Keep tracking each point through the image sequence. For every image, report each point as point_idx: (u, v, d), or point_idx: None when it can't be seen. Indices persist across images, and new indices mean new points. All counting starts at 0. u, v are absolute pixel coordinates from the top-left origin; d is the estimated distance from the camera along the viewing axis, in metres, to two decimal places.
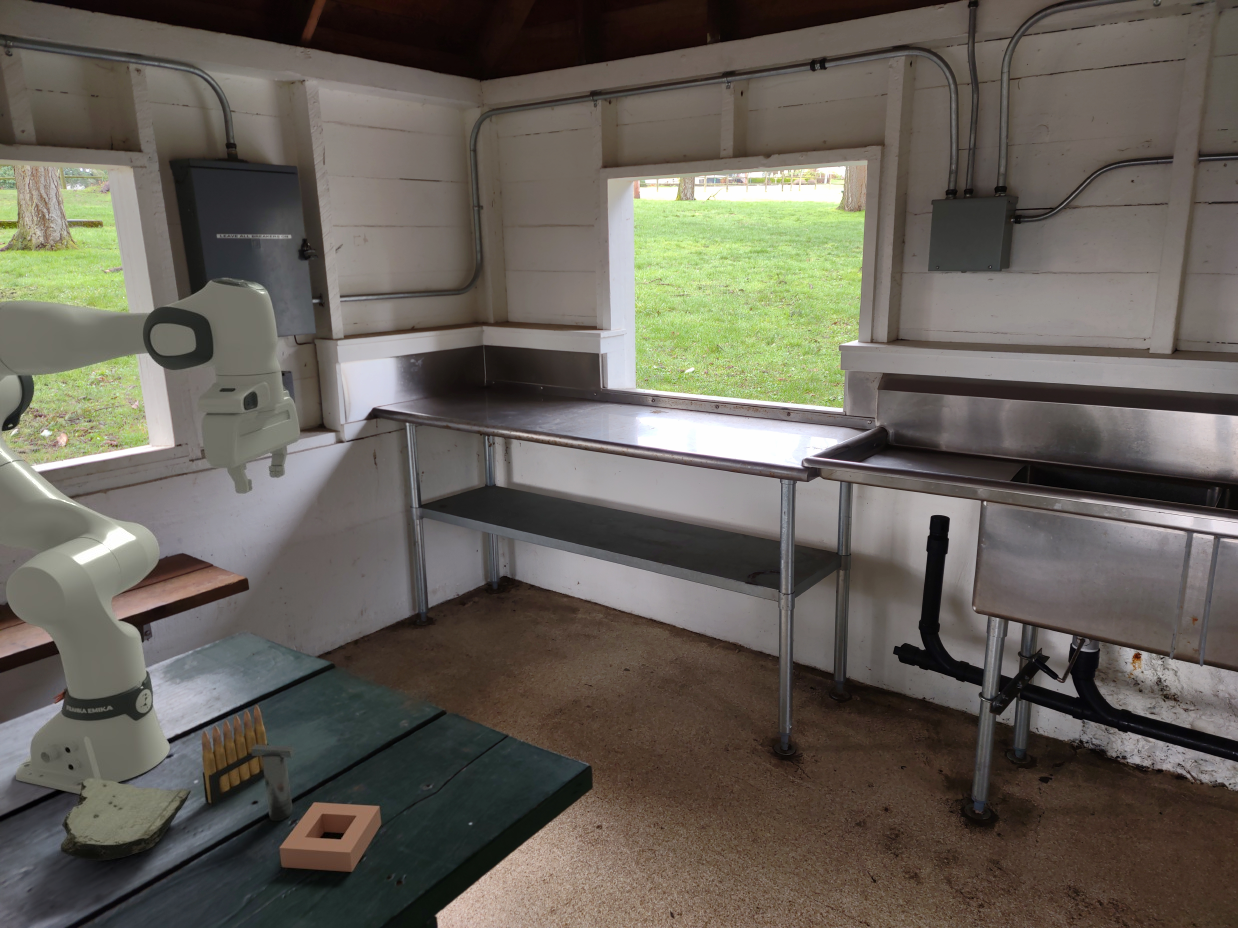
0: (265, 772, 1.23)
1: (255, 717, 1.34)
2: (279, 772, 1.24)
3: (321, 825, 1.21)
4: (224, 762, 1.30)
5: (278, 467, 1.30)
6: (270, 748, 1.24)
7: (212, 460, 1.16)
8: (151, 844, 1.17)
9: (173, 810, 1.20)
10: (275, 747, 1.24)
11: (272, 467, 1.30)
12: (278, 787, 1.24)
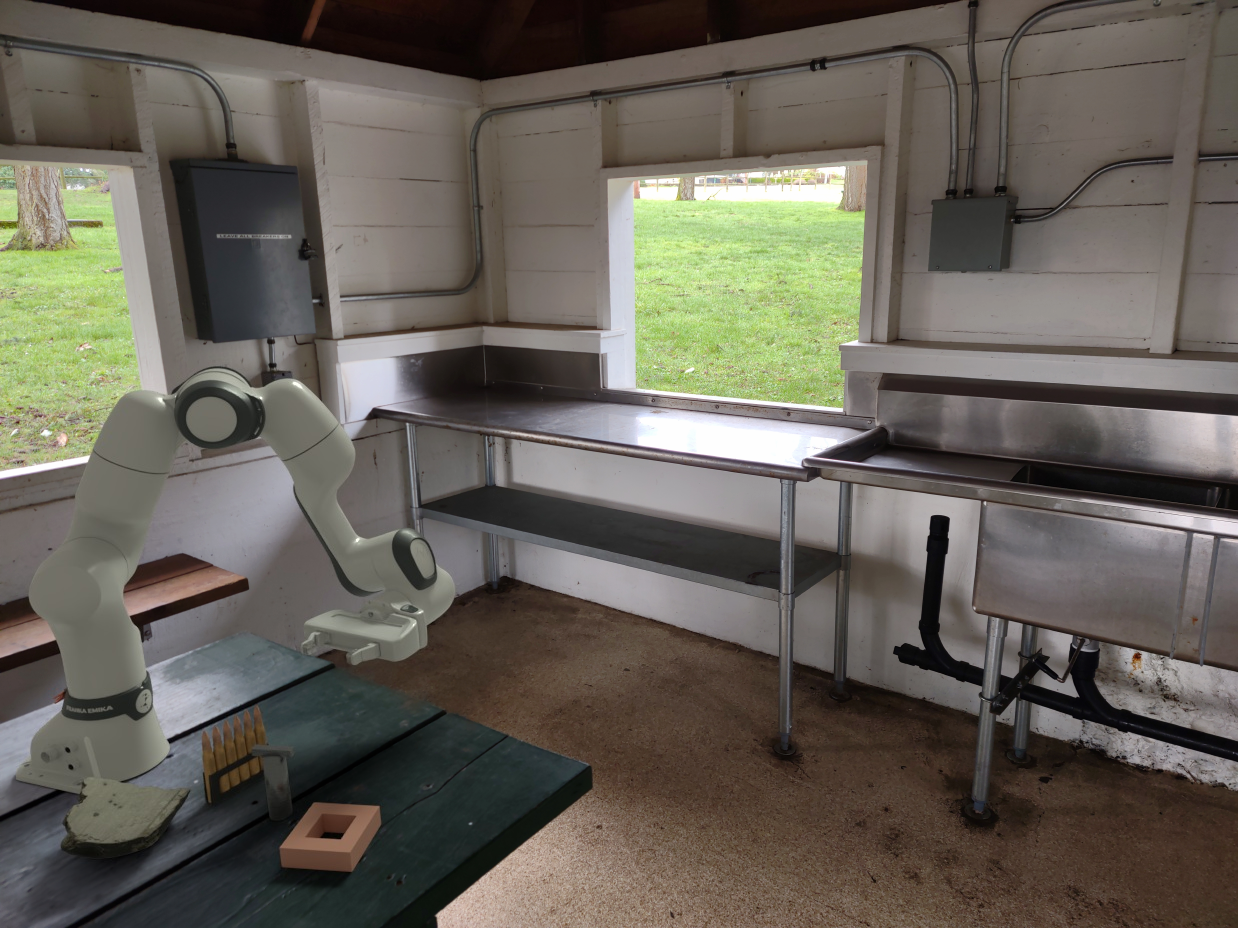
0: (265, 772, 1.23)
1: (255, 717, 1.34)
2: (279, 772, 1.24)
3: (321, 825, 1.21)
4: (224, 762, 1.30)
5: (315, 650, 1.36)
6: (270, 748, 1.24)
7: (401, 645, 1.33)
8: (151, 843, 1.17)
9: (173, 809, 1.20)
10: (275, 748, 1.24)
11: (314, 644, 1.35)
12: (278, 787, 1.24)
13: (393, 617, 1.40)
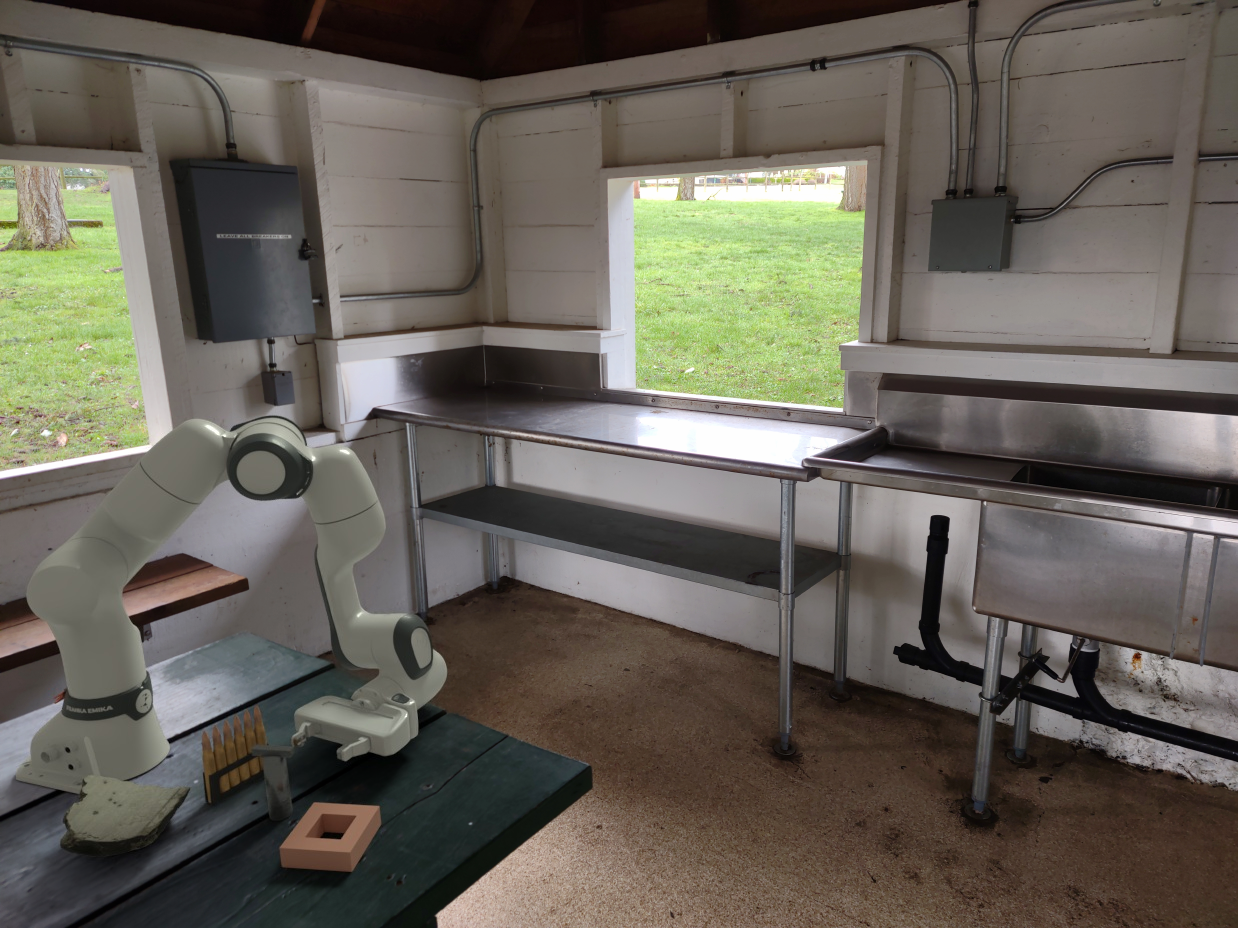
0: (265, 772, 1.23)
1: (255, 717, 1.34)
2: (279, 772, 1.24)
3: (321, 825, 1.21)
4: (224, 762, 1.30)
5: (305, 742, 1.36)
6: (270, 748, 1.24)
7: (392, 739, 1.33)
8: (150, 841, 1.17)
9: (172, 807, 1.20)
10: (275, 748, 1.24)
11: (305, 737, 1.35)
12: (278, 787, 1.24)
13: (384, 708, 1.40)
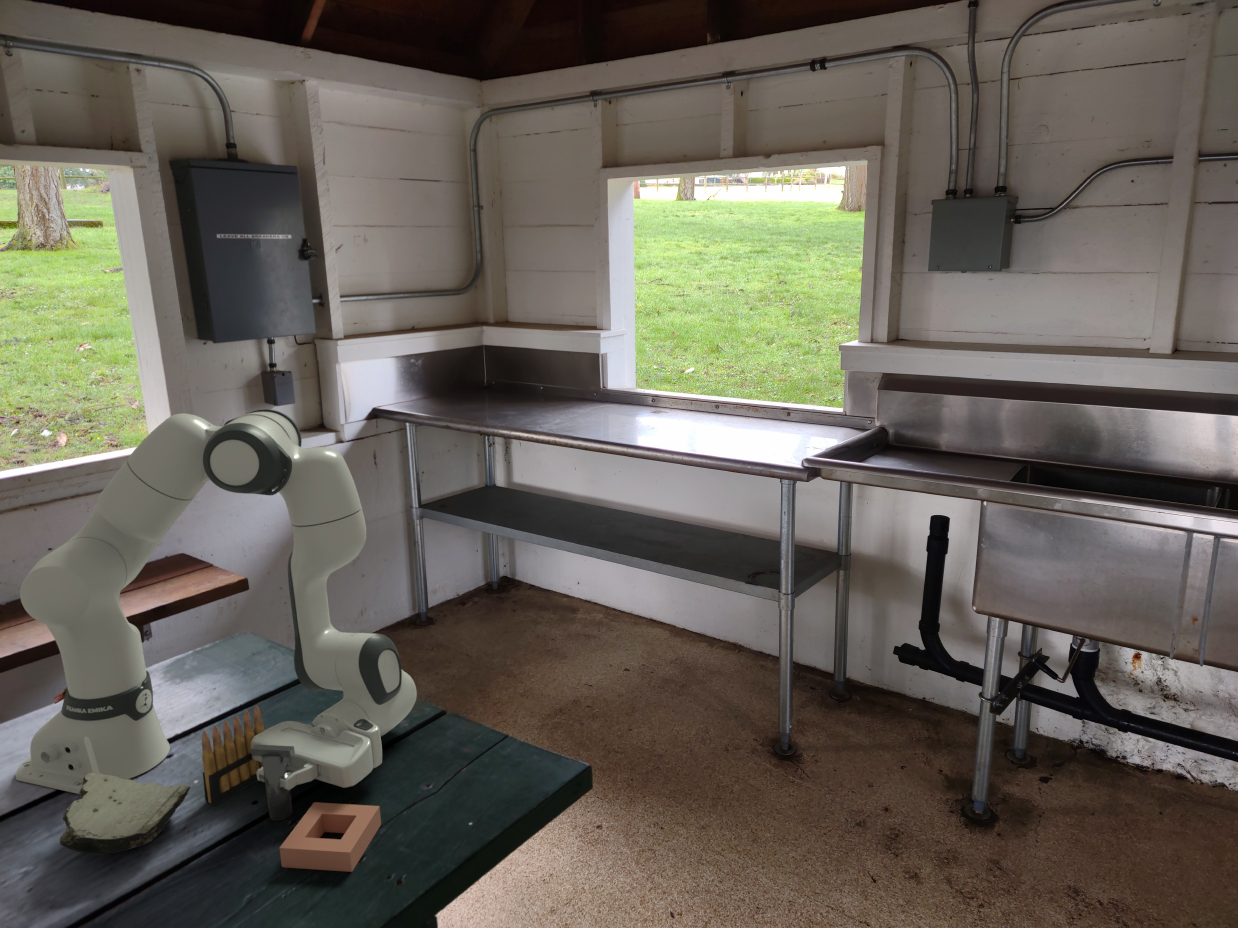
0: (265, 772, 1.23)
1: (255, 716, 1.34)
2: (279, 772, 1.24)
3: (321, 825, 1.21)
4: (224, 762, 1.30)
5: None
6: (270, 748, 1.24)
7: (352, 770, 1.25)
8: (149, 839, 1.18)
9: (171, 806, 1.21)
10: (275, 747, 1.24)
11: None
12: (278, 787, 1.24)
13: (345, 735, 1.31)
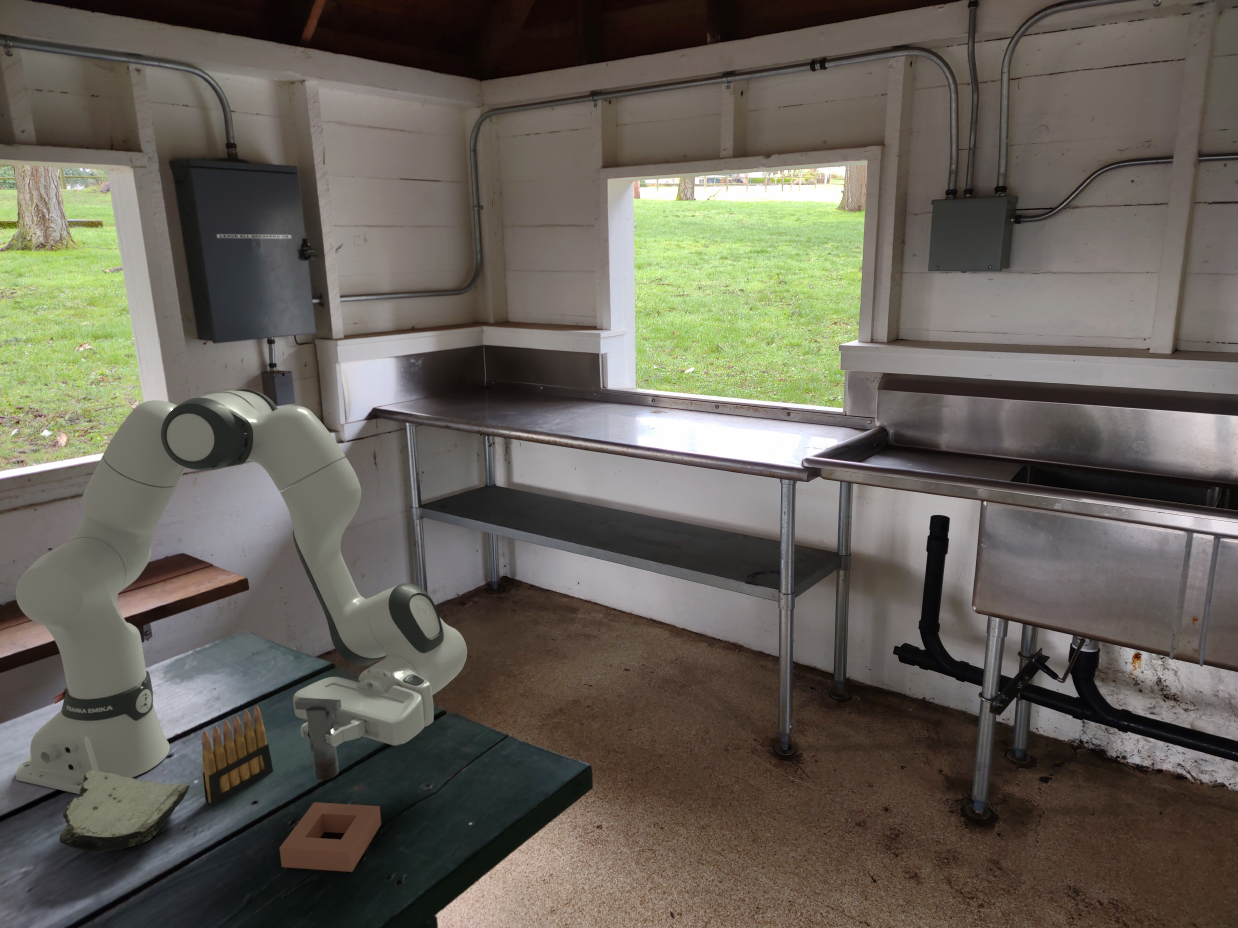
0: (310, 727, 1.14)
1: (255, 717, 1.34)
2: (325, 727, 1.14)
3: (321, 825, 1.21)
4: (224, 762, 1.30)
5: None
6: (315, 701, 1.14)
7: (402, 726, 1.15)
8: (148, 837, 1.18)
9: (171, 804, 1.21)
10: (321, 701, 1.14)
11: None
12: (324, 743, 1.14)
13: (394, 690, 1.22)
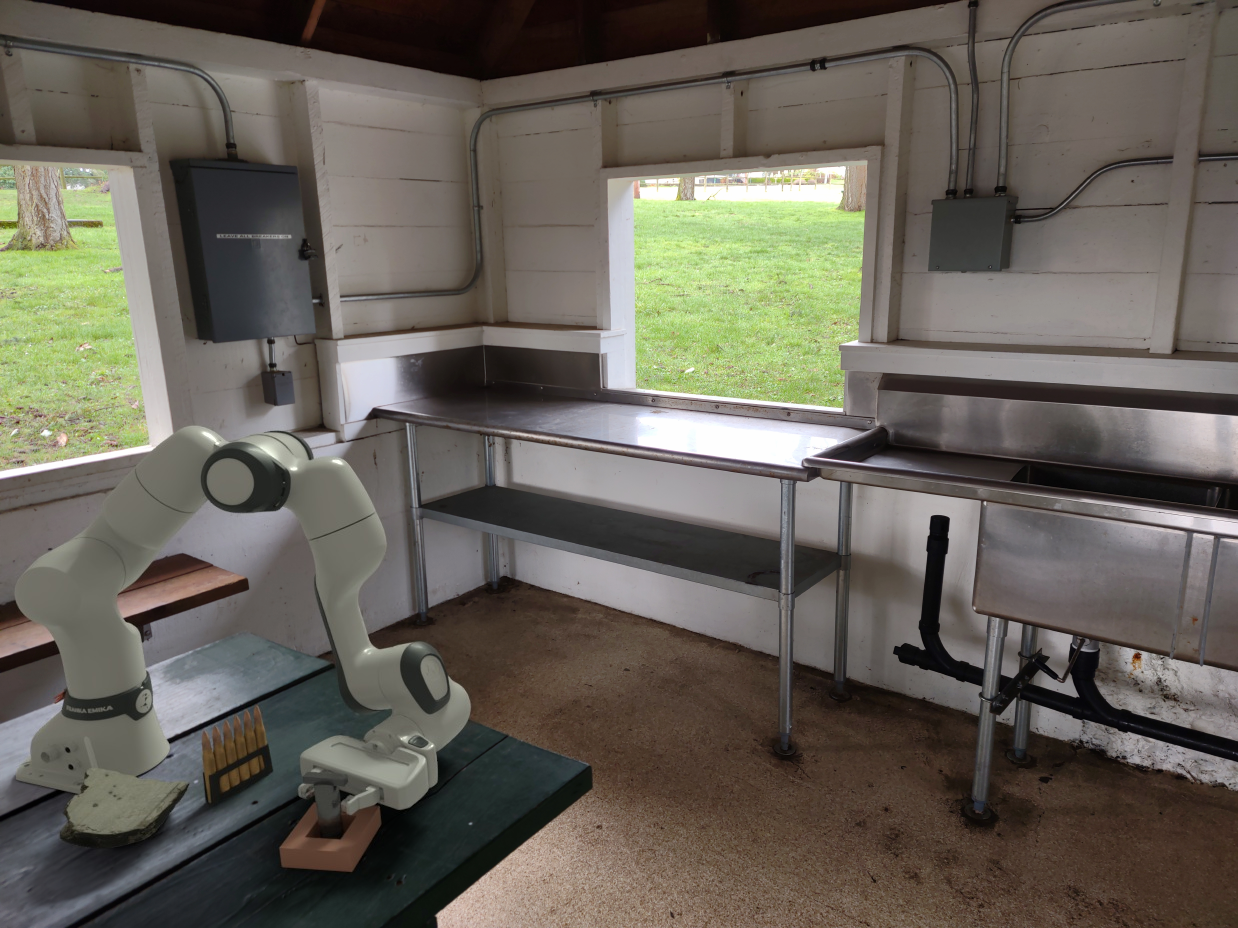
0: (317, 801, 1.16)
1: (255, 717, 1.34)
2: (332, 801, 1.16)
3: None
4: (224, 762, 1.30)
5: None
6: (322, 776, 1.17)
7: (407, 791, 1.17)
8: (147, 835, 1.19)
9: (170, 802, 1.22)
10: (328, 775, 1.17)
11: None
12: (331, 817, 1.17)
13: (400, 752, 1.24)
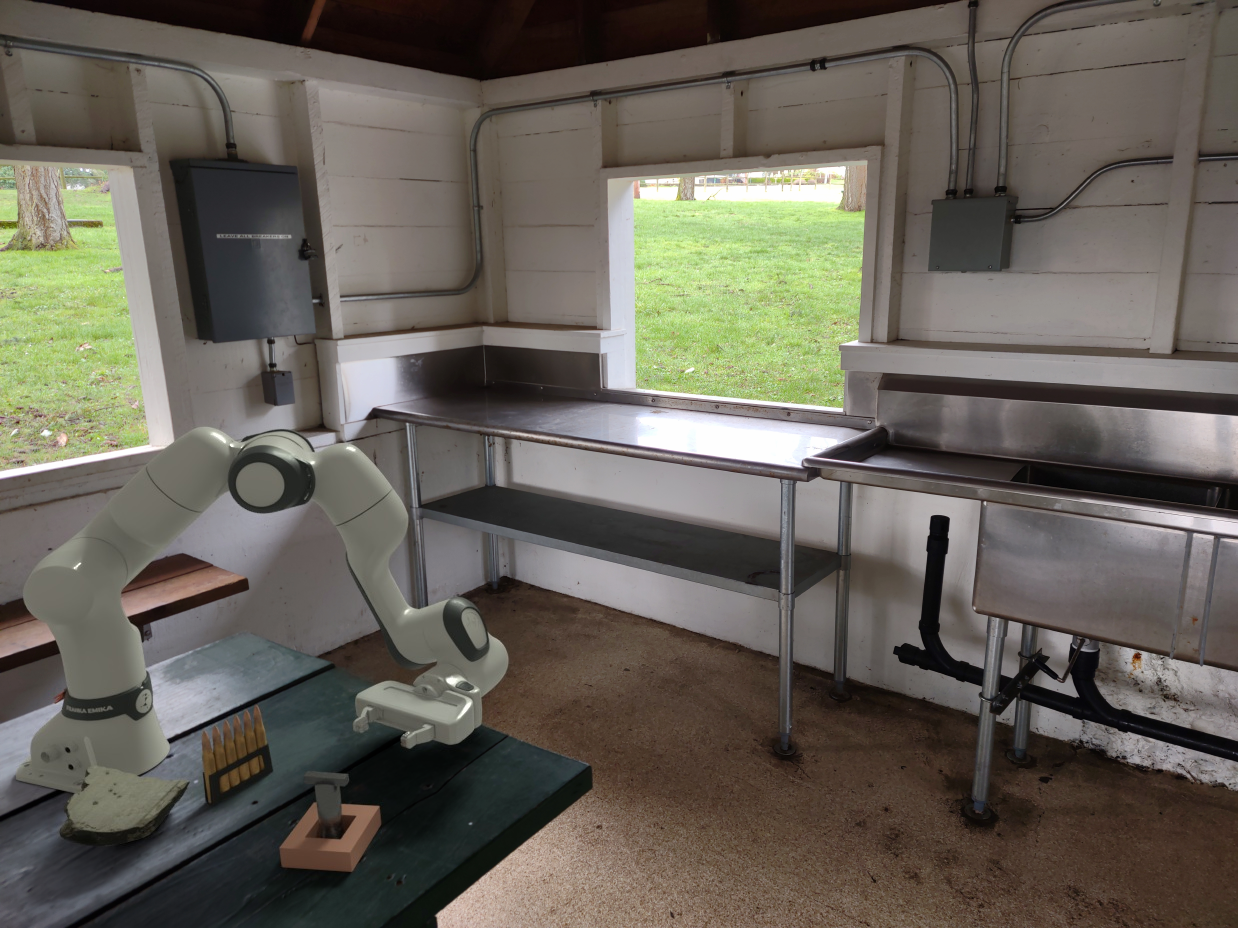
0: (318, 801, 1.16)
1: (255, 716, 1.34)
2: (332, 801, 1.16)
3: None
4: (224, 762, 1.30)
5: (367, 727, 1.31)
6: (323, 775, 1.17)
7: (457, 728, 1.28)
8: (147, 833, 1.19)
9: (170, 800, 1.22)
10: (329, 775, 1.17)
11: (367, 722, 1.31)
12: (331, 817, 1.17)
13: (448, 695, 1.35)
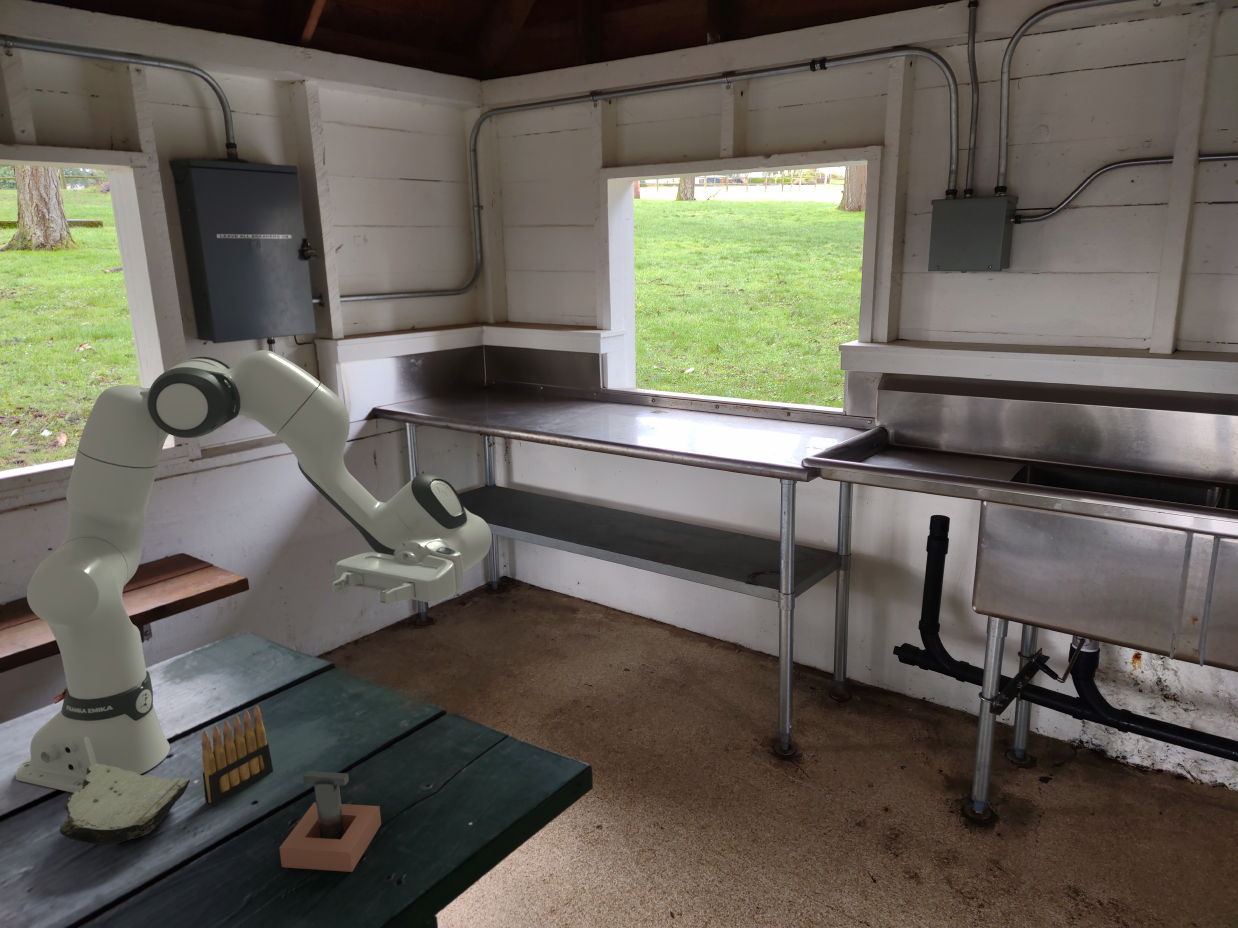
0: (317, 801, 1.16)
1: (255, 717, 1.34)
2: (332, 800, 1.16)
3: None
4: (224, 762, 1.30)
5: (347, 590, 1.29)
6: (323, 775, 1.17)
7: (437, 585, 1.26)
8: (146, 831, 1.19)
9: (170, 798, 1.23)
10: (328, 775, 1.17)
11: (346, 584, 1.29)
12: (331, 816, 1.17)
13: (429, 559, 1.32)
